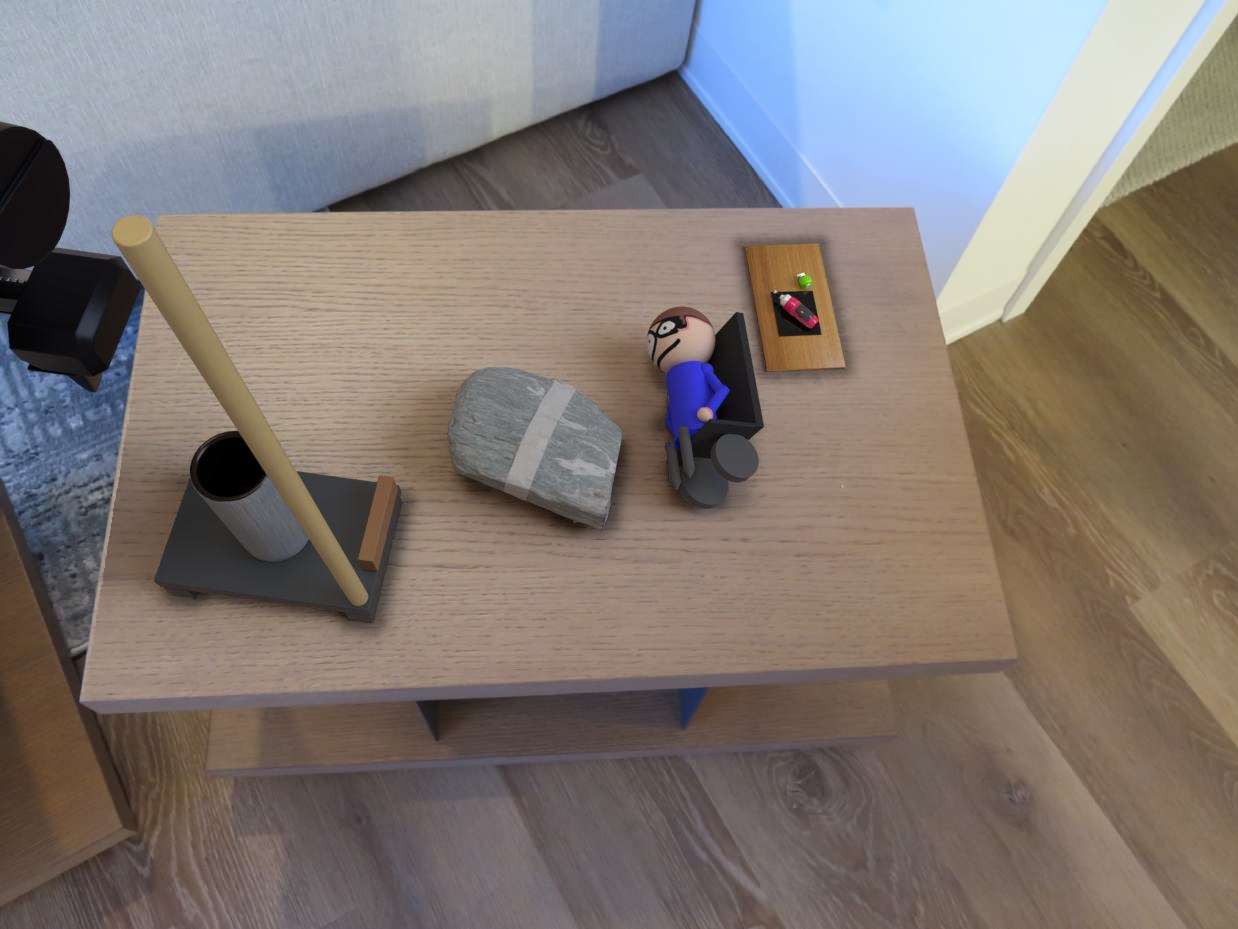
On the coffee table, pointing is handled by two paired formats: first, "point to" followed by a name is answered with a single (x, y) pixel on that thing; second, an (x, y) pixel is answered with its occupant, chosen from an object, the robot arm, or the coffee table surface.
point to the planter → (245, 498)
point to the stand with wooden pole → (323, 505)
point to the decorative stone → (535, 442)
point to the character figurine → (707, 402)
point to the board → (794, 308)
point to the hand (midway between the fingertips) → (18, 374)
